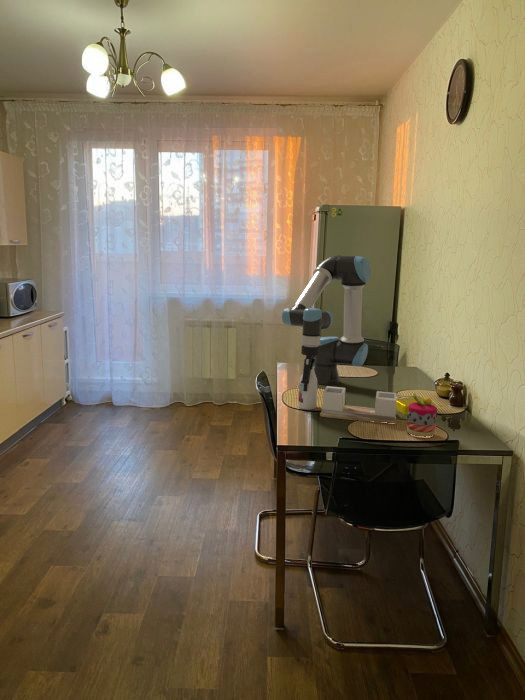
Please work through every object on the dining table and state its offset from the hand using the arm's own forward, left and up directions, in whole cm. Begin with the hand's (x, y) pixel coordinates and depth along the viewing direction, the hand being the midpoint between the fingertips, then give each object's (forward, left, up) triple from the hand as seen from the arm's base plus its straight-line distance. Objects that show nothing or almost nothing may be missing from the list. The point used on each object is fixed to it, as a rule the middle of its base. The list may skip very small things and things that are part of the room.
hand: (307, 394), depth 226 cm
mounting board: (+3, +22, -6) cm, 23 cm away
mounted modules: (+3, +22, -4) cm, 23 cm away
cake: (+18, +46, -6) cm, 50 cm away
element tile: (-15, +44, -7) cm, 47 cm away
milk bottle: (0, 0, -6) cm, 6 cm away
